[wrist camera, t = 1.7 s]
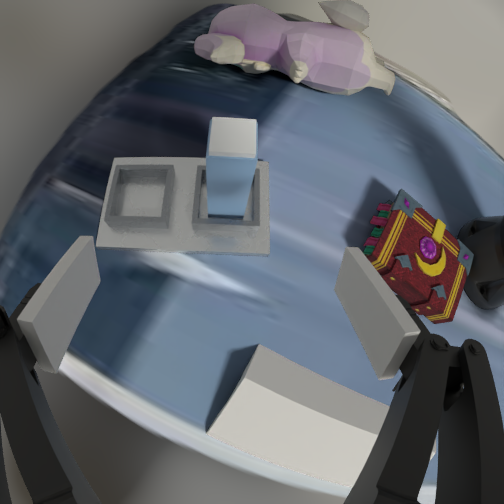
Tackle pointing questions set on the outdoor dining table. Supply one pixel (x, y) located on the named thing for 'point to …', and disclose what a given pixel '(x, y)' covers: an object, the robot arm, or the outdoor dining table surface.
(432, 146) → the outdoor dining table surface
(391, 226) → the decorative book
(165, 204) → the panel
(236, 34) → the toy
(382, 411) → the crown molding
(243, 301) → the outdoor dining table surface
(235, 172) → the plug
